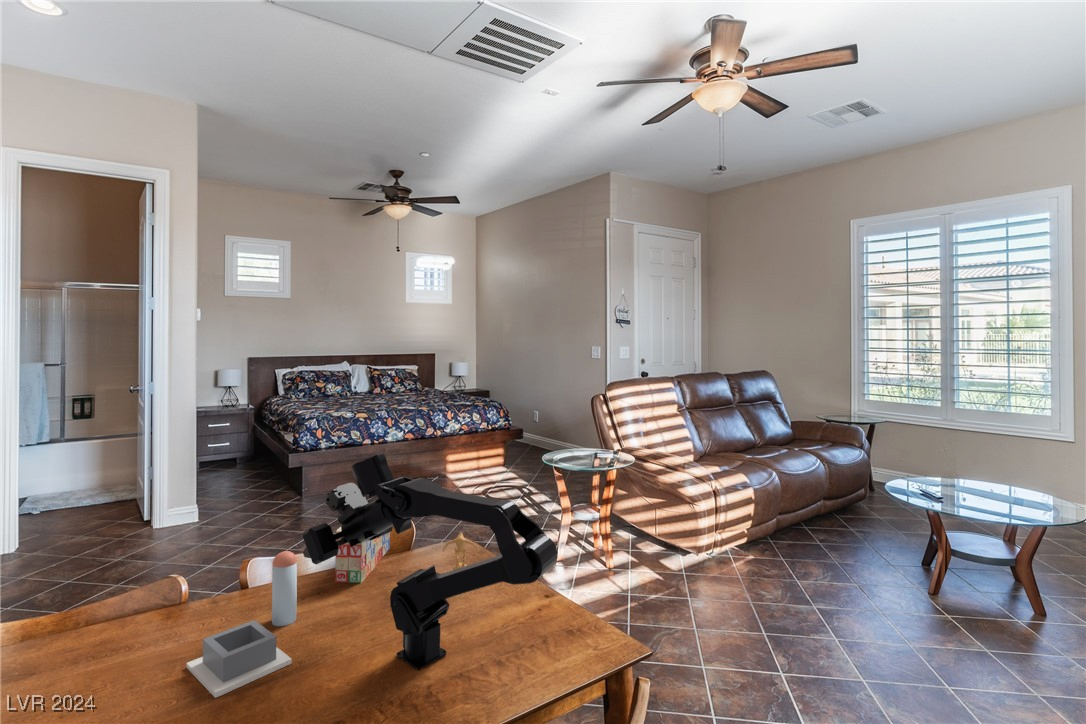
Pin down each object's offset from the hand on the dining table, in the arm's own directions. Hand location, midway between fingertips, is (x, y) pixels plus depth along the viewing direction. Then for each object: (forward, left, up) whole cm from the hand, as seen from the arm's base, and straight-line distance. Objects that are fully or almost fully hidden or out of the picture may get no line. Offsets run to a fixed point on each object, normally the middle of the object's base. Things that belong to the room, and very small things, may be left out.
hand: (323, 546), depth 106 cm
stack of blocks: (+18, -21, -16) cm, 32 cm away
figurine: (-7, -30, -15) cm, 35 cm away
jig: (-3, +17, -15) cm, 23 cm away
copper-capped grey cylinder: (+6, +5, -15) cm, 17 cm away
